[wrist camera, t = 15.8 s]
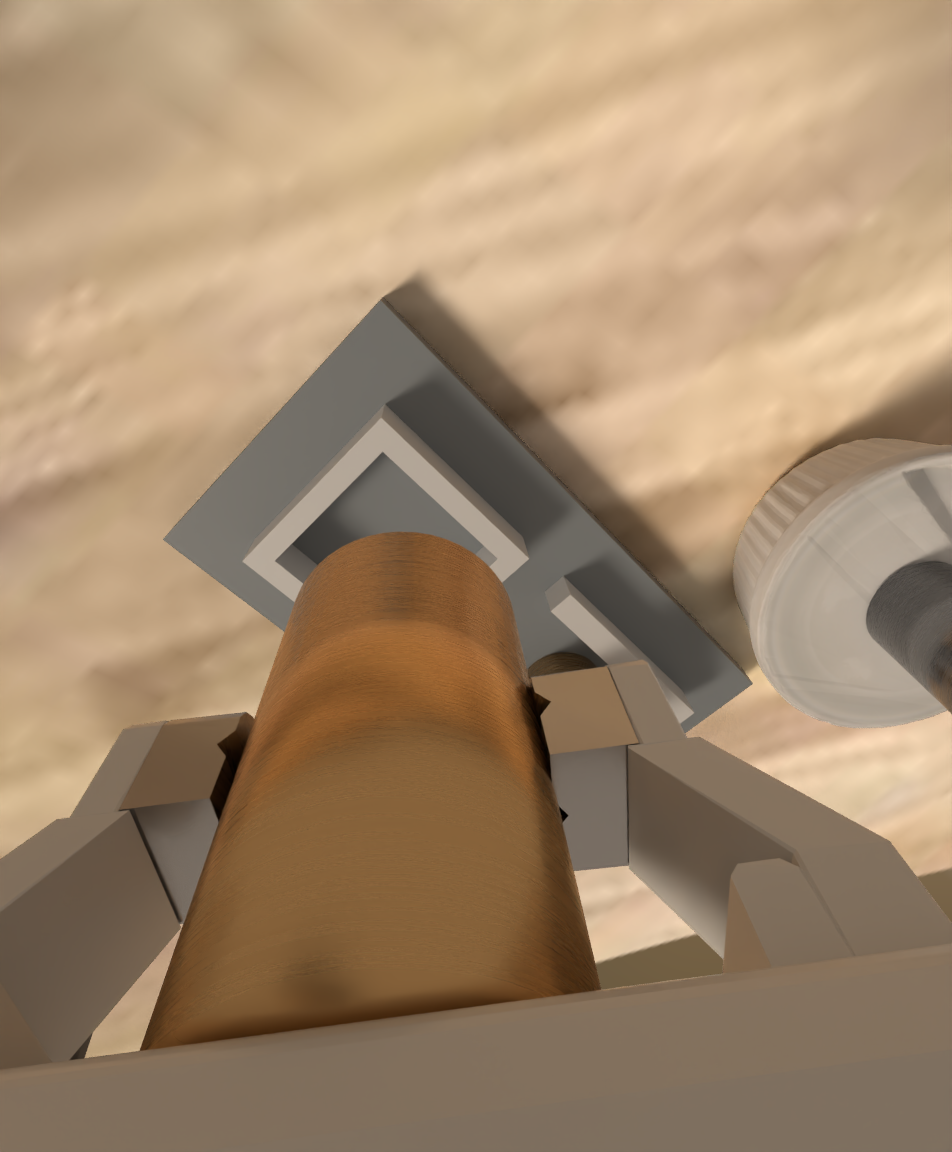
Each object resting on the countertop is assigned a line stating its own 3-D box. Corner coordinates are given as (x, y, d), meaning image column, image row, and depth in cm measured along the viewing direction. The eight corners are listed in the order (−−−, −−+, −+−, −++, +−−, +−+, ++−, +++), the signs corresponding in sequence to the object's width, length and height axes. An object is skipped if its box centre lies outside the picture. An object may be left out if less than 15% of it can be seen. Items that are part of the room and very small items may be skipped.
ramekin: (1028, 449, 28) (1148, 493, 24) (892, 676, 33) (969, 752, 28) (776, 382, 27) (851, 415, 22) (670, 633, 31) (712, 705, 26)
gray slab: (173, 527, 28) (143, 562, 25) (382, 297, 24) (376, 306, 21) (545, 813, 35) (555, 865, 32) (741, 668, 32) (772, 711, 29)
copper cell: (255, 674, 12) (14, 1314, 5) (352, 490, 10) (210, 1005, 3) (447, 752, 13) (474, 1376, 6) (557, 594, 11) (760, 1152, 4)
